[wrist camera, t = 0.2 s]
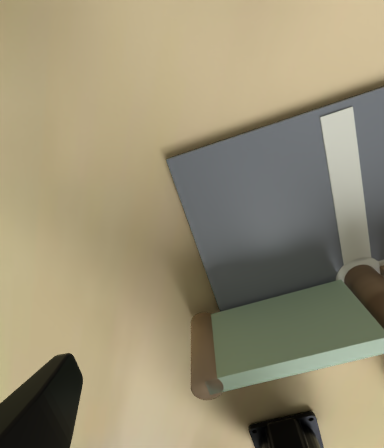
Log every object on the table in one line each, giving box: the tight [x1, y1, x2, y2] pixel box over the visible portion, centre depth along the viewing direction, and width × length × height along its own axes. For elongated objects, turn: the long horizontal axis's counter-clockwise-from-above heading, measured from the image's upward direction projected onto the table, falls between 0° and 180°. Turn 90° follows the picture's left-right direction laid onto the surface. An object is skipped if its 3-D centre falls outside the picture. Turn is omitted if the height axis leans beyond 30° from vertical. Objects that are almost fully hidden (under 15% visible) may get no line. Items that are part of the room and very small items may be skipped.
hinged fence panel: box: [191, 280, 384, 400], centre depth 21 cm, size 2×12×6 cm, turn 108°
